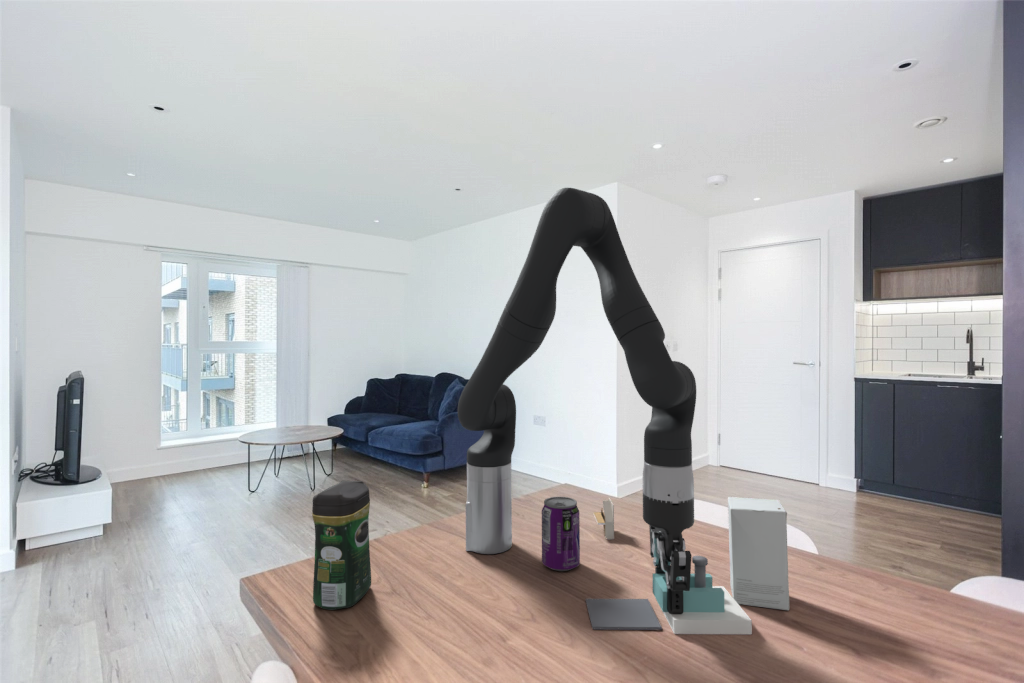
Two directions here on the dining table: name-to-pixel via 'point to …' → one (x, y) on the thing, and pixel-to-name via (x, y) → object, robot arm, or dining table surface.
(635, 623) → the felt pad
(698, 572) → the stand
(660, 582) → the c link
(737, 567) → the skincare box
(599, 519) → the architectural model
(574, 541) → the beverage can
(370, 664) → the dining table surface
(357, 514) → the coffee jar
